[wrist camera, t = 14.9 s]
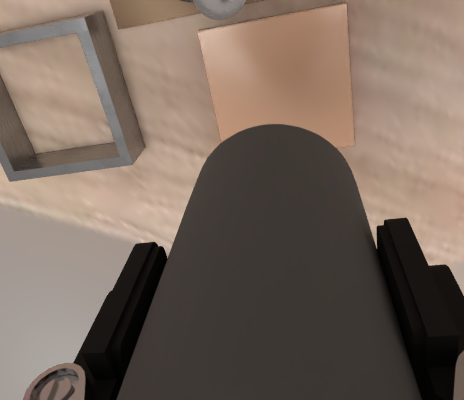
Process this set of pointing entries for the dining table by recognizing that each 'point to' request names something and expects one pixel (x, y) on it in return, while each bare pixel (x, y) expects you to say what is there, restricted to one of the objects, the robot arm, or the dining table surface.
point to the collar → (111, 95)
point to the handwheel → (218, 7)
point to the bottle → (272, 285)
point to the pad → (283, 73)
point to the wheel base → (152, 11)
